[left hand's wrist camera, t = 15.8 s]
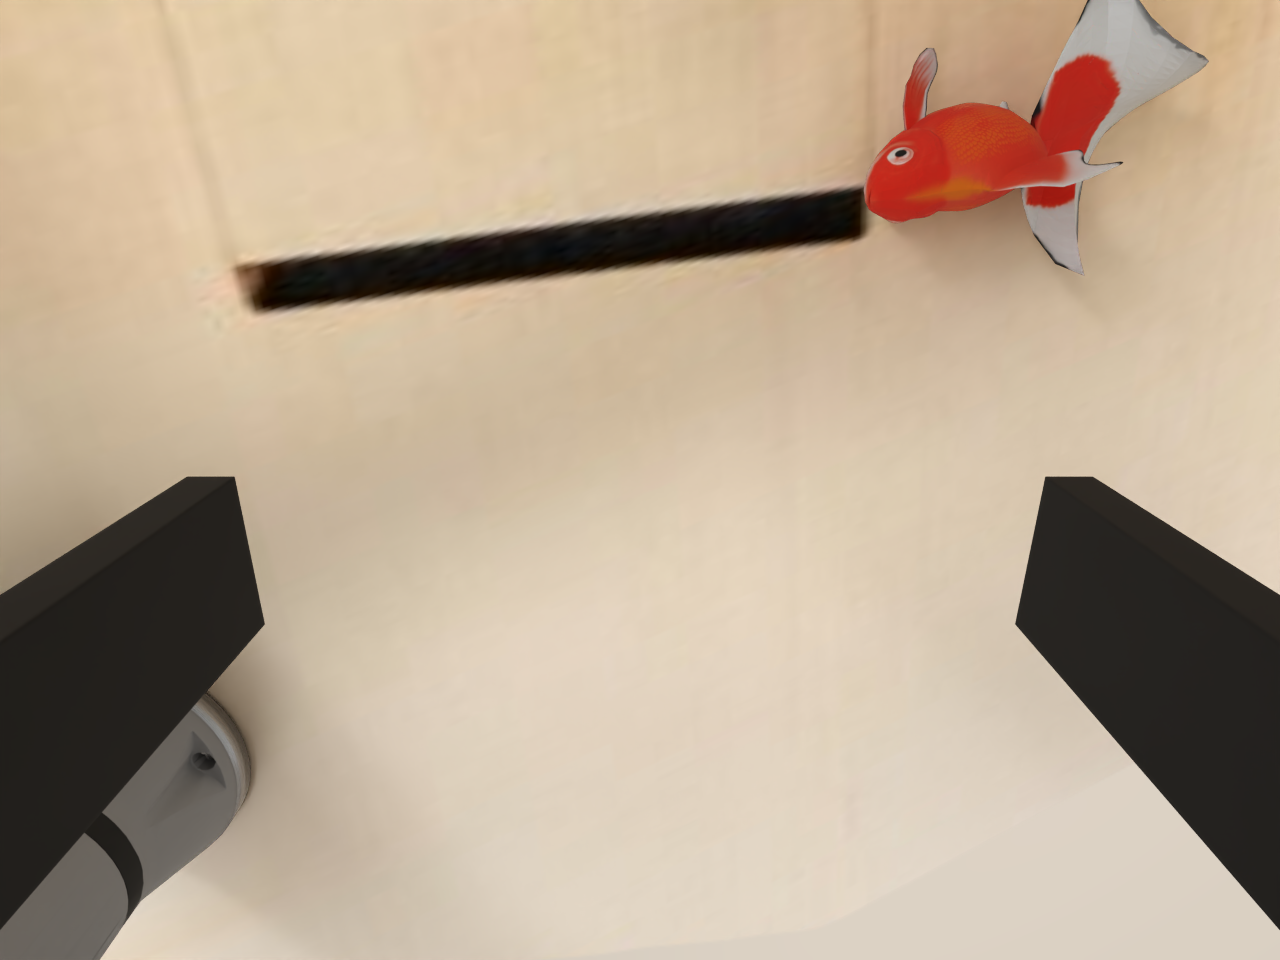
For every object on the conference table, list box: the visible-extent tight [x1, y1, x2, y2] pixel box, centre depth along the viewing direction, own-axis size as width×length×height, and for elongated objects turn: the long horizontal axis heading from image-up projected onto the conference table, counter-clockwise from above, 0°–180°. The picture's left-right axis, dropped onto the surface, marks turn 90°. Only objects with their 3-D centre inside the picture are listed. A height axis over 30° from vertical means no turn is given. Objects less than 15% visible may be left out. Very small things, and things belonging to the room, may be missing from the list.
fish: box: [864, 0, 1209, 275], centre depth 33 cm, size 11×16×10 cm
